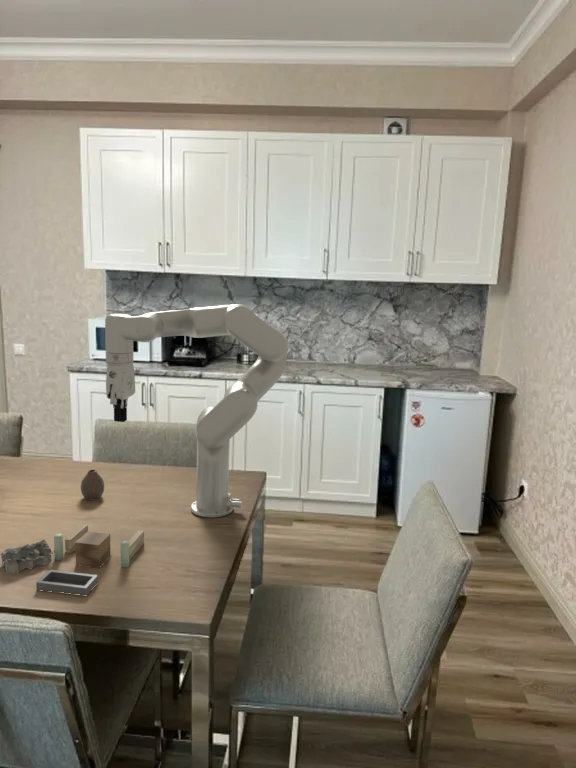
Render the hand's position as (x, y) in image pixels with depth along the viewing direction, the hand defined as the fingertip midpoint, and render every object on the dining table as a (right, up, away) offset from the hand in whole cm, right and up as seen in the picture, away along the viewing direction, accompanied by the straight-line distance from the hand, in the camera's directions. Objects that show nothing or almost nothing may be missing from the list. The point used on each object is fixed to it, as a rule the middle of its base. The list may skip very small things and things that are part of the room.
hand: (120, 420), depth 166 cm
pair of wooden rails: (+2, -31, -18) cm, 36 cm away
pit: (-1, -35, -37) cm, 51 cm away
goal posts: (+1, -33, -26) cm, 42 cm away
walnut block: (+1, -33, -25) cm, 41 cm away
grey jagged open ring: (-15, -33, -27) cm, 45 cm away
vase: (-12, -25, +13) cm, 30 cm away
